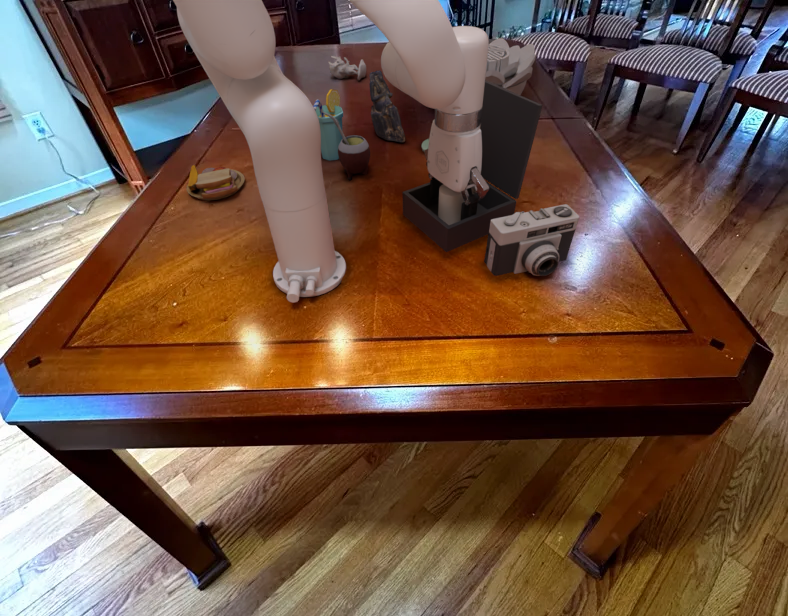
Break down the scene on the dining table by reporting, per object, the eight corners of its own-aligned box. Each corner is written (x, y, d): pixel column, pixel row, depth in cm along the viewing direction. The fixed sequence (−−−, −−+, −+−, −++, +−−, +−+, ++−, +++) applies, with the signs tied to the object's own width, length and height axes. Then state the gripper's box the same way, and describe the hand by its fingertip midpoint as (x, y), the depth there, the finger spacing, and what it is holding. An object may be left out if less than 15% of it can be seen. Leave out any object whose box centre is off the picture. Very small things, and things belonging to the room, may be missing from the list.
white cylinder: (464, 228, 85) (467, 195, 80) (438, 229, 85) (440, 196, 80) (461, 213, 89) (463, 182, 84) (436, 214, 89) (438, 182, 84)
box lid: (539, 105, 71) (542, 104, 71) (479, 79, 79) (483, 79, 80) (515, 199, 82) (518, 198, 82) (465, 167, 91) (468, 166, 91)
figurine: (365, 68, 140) (327, 61, 140) (363, 88, 145) (326, 81, 144) (368, 56, 147) (332, 49, 146) (366, 76, 151) (331, 70, 150)
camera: (503, 294, 73) (512, 245, 66) (482, 263, 79) (489, 215, 72) (578, 276, 76) (596, 227, 69) (553, 248, 81) (566, 200, 74)
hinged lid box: (446, 255, 81) (447, 228, 77) (402, 217, 90) (402, 191, 86) (511, 227, 86) (516, 200, 82) (464, 194, 95) (466, 168, 91)
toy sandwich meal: (247, 170, 105) (241, 151, 102) (244, 201, 96) (238, 181, 92) (192, 177, 104) (184, 157, 100) (183, 208, 94) (175, 188, 91)
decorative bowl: (554, 121, 119) (568, 59, 109) (454, 142, 112) (459, 78, 102) (495, 84, 139) (502, 29, 129) (407, 100, 132) (407, 43, 122)
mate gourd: (377, 170, 103) (373, 104, 93) (358, 186, 99) (351, 118, 88) (350, 163, 106) (343, 98, 95) (330, 178, 101) (321, 111, 91)
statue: (395, 148, 111) (393, 84, 100) (366, 132, 118) (361, 71, 107) (412, 141, 113) (412, 77, 103) (383, 126, 120) (380, 65, 109)
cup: (339, 172, 103) (330, 105, 93) (307, 170, 104) (295, 104, 94) (354, 145, 113) (348, 81, 102) (324, 143, 114) (315, 80, 103)
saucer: (464, 156, 107) (464, 154, 106) (422, 157, 107) (422, 155, 107) (459, 137, 114) (459, 135, 114) (420, 139, 114) (420, 137, 114)
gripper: (409, 105, 77) (410, 194, 89) (473, 142, 66) (464, 237, 78) (444, 95, 79) (441, 182, 91) (512, 129, 69) (497, 223, 81)
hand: (452, 207), depth 85 cm, fingers open, 9 cm apart
